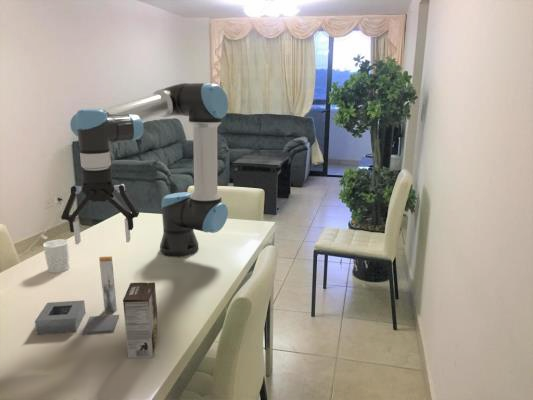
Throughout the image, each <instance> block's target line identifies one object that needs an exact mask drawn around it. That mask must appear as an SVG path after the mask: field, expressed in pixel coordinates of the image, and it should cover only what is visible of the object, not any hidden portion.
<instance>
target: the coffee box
mask: <svg viewBox="0 0 533 400" xmlns="http://www.w3.org/2000/svg"><path fill="white" fill-rule="evenodd" d="M122 302H123V303H122V305H123V313H124V315H123V316H124V325H125V335H126V347H127V357H128V359H145V358H146V359H149V358H151V359H152V358H154V357H155V353H156V349H157V346H158V342H159V338H160V331H159V319H158V306H157V292H156V282H141V281H140V282H130V283H129V286H128V288H127V290H126V293H125V295H124V297H123V299H122Z"/></svg>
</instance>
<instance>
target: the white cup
mask: <svg viewBox="0 0 533 400" xmlns="http://www.w3.org/2000/svg"><path fill="white" fill-rule="evenodd" d="M42 245H43V246H42V247H43V251H44V257H45V261H46V265H47V270H48V272H49V273H52V274H53V273H54V274H58V273H63V272H66V271H68V270H69V268H70V262H69V261H70V254H69V242H68V240H67V239H63V238H62V239H61V238H60V239H52V240H47V241H45V242H43V244H42Z"/></svg>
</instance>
